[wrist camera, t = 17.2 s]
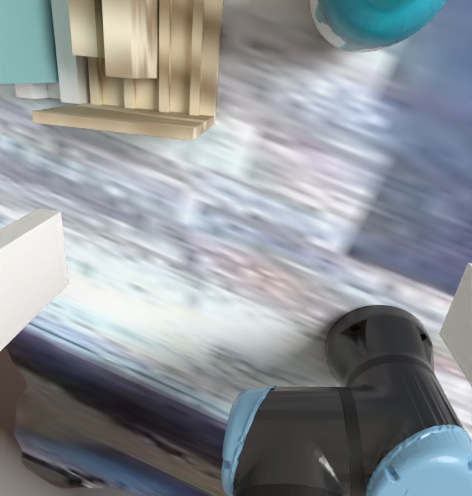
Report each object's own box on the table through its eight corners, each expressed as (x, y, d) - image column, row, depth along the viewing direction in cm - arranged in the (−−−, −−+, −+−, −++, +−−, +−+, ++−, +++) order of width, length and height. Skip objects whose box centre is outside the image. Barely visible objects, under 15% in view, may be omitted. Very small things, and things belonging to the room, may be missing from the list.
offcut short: (124, 60, 42) (97, 57, 36) (103, 58, 43) (72, 54, 36) (121, -49, 38) (89, -73, 32) (97, -51, 38) (61, -76, 32)
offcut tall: (159, 78, 43) (131, 78, 35) (138, 75, 43) (105, 75, 35) (160, -64, 37) (127, -103, 29) (135, -66, 38) (96, -105, 29)
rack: (215, 123, 46) (192, 140, 34) (97, 110, 47) (33, 122, 34) (230, -111, 36) (206, -204, 24) (82, -122, 37) (-13, -218, 25)
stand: (95, 101, 46) (79, 103, 43) (36, 95, 47) (16, 96, 43) (81, -109, 38) (60, -128, 34) (9, -114, 38) (-19, -134, 35)
